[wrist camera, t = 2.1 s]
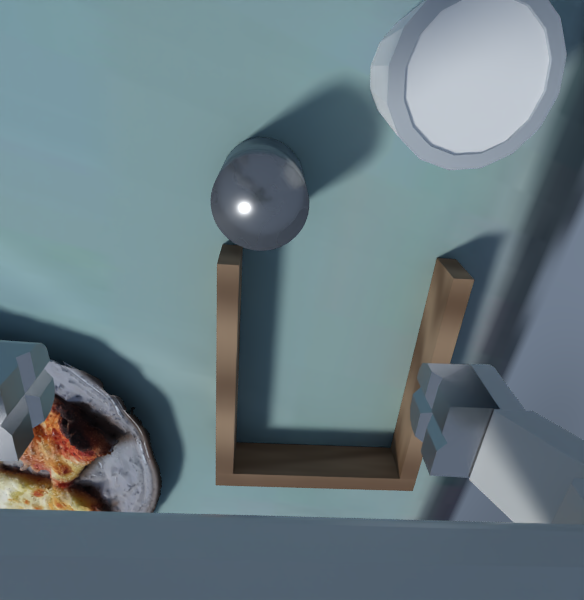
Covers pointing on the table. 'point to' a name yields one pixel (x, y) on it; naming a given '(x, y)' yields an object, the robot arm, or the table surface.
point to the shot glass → (469, 77)
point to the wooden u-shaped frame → (319, 458)
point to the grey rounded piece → (260, 195)
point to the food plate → (83, 454)
